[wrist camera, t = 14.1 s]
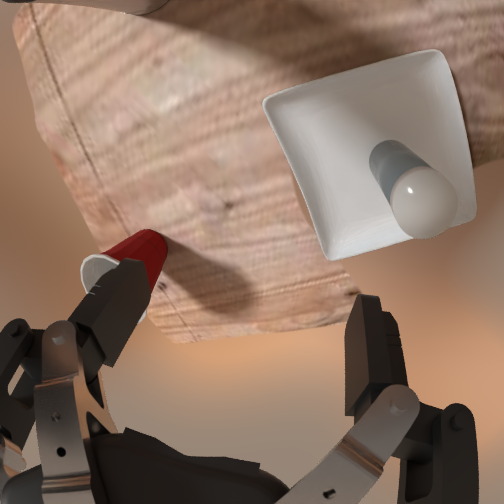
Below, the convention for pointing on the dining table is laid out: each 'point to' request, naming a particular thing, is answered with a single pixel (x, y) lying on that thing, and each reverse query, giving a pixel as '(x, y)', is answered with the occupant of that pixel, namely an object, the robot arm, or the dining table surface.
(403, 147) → the shaker
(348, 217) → the salad plate
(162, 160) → the dining table surface
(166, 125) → the dining table surface
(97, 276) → the plastic cup
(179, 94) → the dining table surface
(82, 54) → the dining table surface
